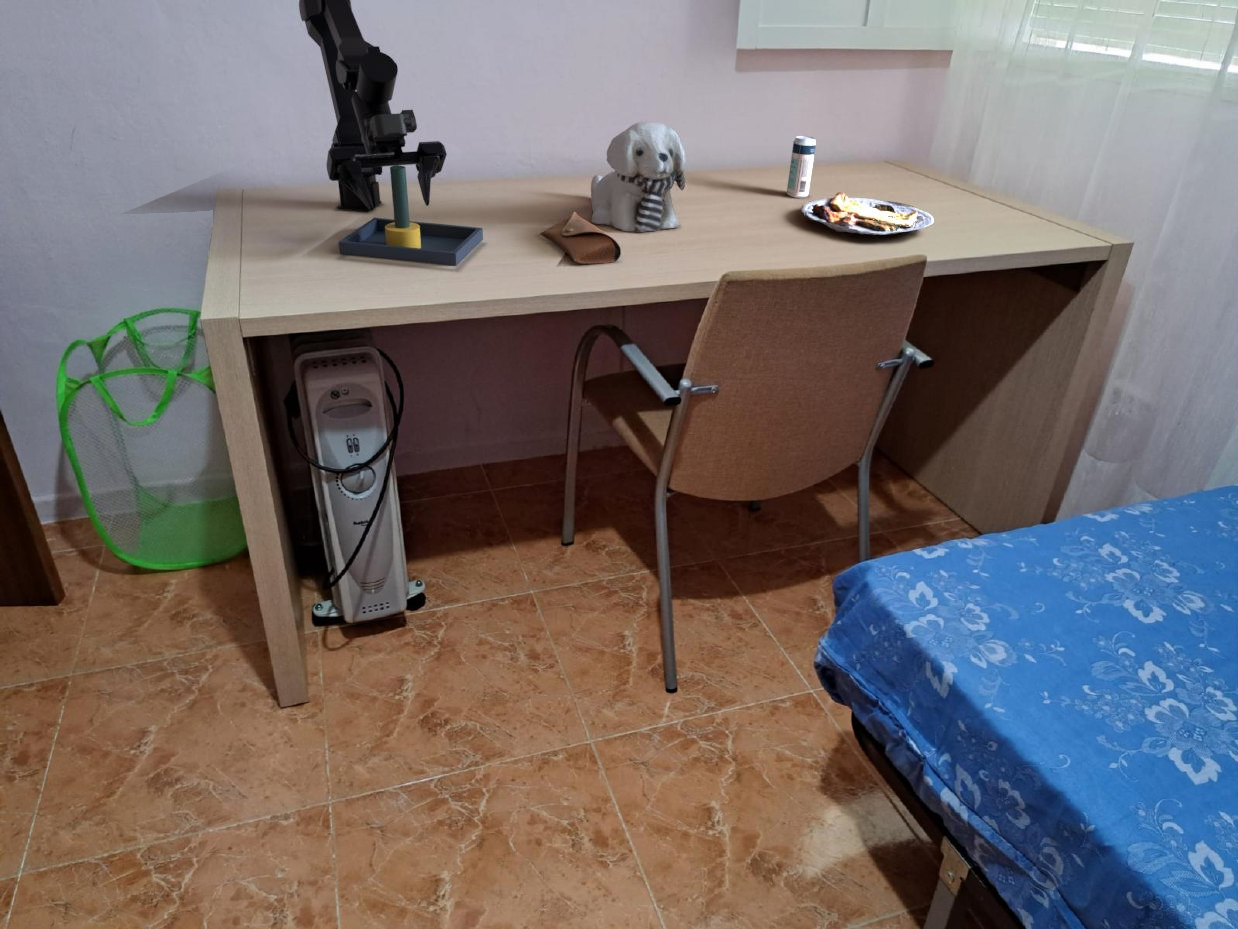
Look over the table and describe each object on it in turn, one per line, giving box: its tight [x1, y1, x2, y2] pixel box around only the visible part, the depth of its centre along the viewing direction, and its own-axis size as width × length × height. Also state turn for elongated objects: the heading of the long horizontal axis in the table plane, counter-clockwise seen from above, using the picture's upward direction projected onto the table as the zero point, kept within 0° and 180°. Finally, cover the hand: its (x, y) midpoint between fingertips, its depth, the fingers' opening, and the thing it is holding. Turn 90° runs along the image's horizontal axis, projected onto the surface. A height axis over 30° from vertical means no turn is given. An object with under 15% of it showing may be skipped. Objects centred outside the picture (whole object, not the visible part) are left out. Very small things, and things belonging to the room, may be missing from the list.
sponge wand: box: [385, 165, 421, 248], centre depth 147 cm, size 6×6×13 cm
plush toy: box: [590, 121, 687, 233], centre depth 170 cm, size 18×25×18 cm
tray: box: [338, 217, 484, 267], centre depth 151 cm, size 20×15×3 cm
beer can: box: [786, 135, 817, 199], centre depth 192 cm, size 5×5×12 cm
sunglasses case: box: [540, 211, 622, 265], centre depth 156 cm, size 18×7×7 cm
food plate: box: [800, 192, 934, 236], centre depth 177 cm, size 25×23×4 cm
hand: (400, 206), depth 146 cm, fingers open, 9 cm apart
